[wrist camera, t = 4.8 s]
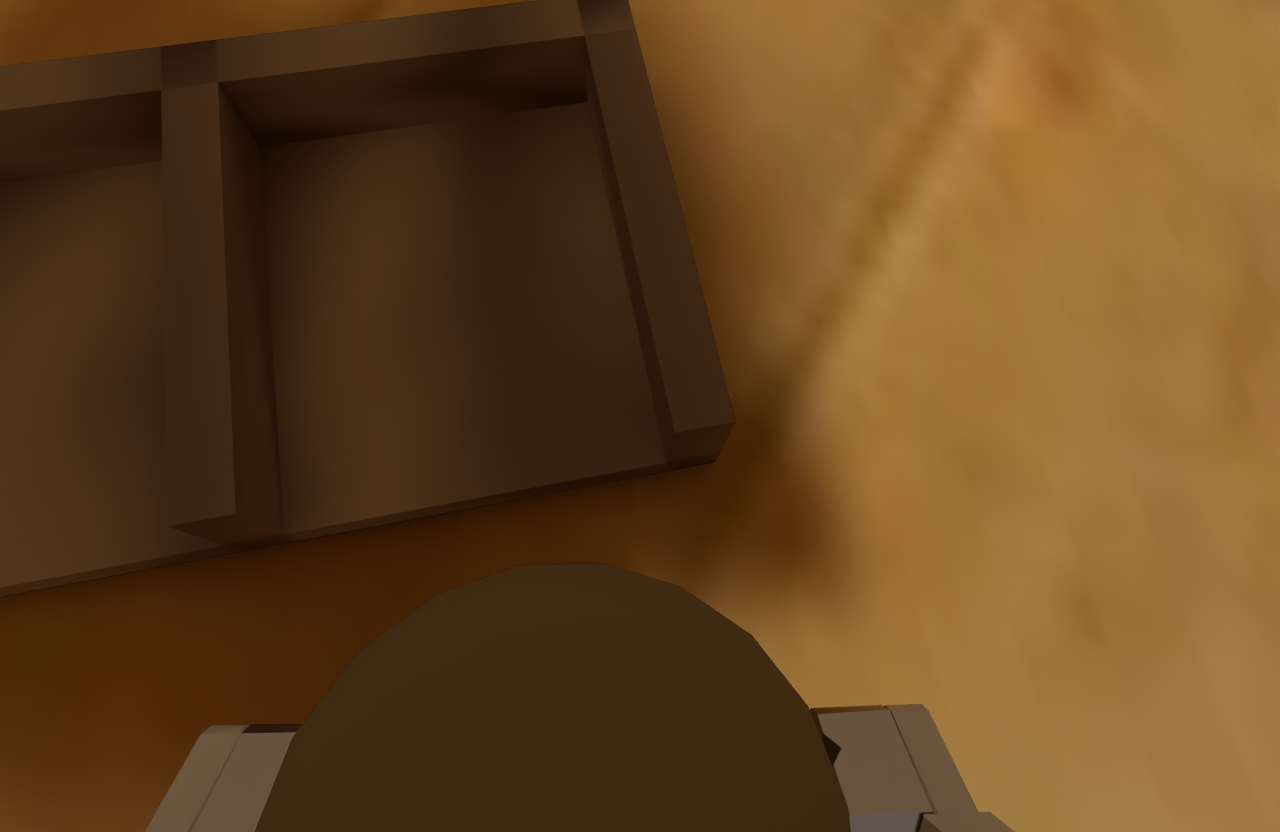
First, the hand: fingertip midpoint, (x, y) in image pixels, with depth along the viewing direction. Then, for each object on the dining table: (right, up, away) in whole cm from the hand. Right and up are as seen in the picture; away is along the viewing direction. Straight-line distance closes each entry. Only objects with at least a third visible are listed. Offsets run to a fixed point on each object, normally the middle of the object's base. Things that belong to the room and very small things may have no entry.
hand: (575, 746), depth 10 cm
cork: (0, -3, +6) cm, 6 cm away
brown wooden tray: (-8, +7, +8) cm, 13 cm away
